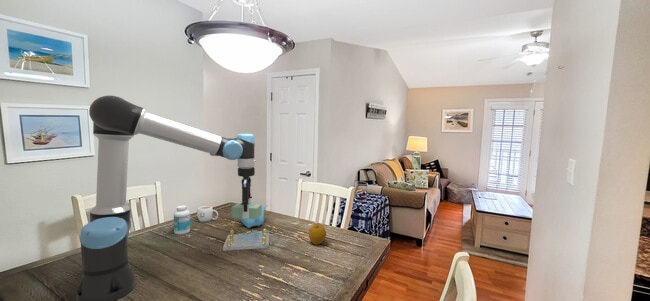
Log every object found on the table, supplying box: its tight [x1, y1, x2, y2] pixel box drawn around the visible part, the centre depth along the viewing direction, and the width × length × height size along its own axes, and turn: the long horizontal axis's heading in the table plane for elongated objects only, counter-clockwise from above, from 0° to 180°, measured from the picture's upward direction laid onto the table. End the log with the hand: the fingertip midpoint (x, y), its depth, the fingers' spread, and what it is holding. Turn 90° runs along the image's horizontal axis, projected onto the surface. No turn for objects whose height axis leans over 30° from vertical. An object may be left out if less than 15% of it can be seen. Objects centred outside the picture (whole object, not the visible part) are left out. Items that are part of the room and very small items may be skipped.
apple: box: [308, 224, 327, 246], centre depth 129 cm, size 9×8×9 cm
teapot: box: [240, 204, 268, 229], centre depth 150 cm, size 16×18×11 cm
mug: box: [196, 205, 219, 223], centre depth 155 cm, size 12×8×8 cm
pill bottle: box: [173, 205, 191, 235], centre depth 137 cm, size 8×7×14 cm
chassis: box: [222, 228, 270, 252], centre depth 128 cm, size 20×14×4 cm
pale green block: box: [231, 202, 263, 219], centre depth 126 cm, size 12×6×5 cm, turn 81°
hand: (246, 214), depth 126 cm, fingers closed on pale green block, 7 cm apart
